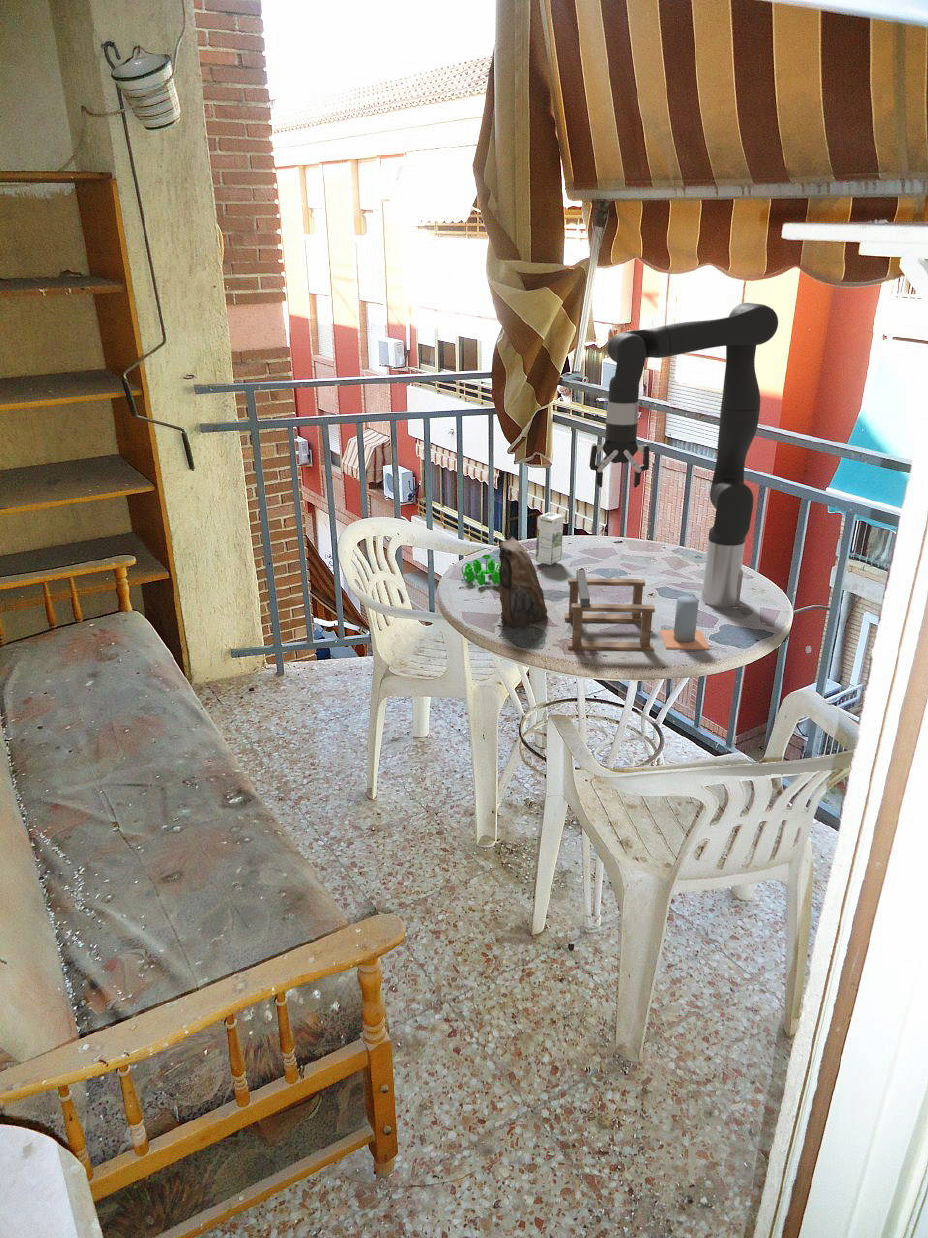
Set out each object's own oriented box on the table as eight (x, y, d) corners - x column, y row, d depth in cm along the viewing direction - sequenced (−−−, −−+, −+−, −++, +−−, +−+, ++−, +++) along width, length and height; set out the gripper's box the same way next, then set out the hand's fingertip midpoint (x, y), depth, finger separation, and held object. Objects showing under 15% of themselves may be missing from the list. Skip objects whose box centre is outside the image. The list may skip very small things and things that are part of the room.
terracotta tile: (700, 633, 209) (701, 630, 209) (708, 651, 200) (709, 647, 200) (659, 632, 210) (659, 629, 210) (665, 650, 201) (666, 647, 201)
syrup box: (546, 556, 263) (547, 511, 257) (562, 560, 260) (563, 514, 254) (535, 561, 259) (536, 515, 253) (551, 565, 256) (553, 519, 250)
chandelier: (495, 566, 256) (496, 544, 253) (522, 582, 244) (522, 559, 241) (451, 575, 249) (451, 552, 247) (476, 591, 237) (476, 568, 235)
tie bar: (584, 577, 215) (584, 570, 214) (589, 606, 197) (589, 598, 196) (576, 577, 215) (576, 569, 214) (580, 606, 197) (581, 598, 196)
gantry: (642, 618, 219) (646, 578, 214) (653, 651, 200) (657, 609, 196) (564, 616, 220) (566, 577, 216) (568, 649, 202) (570, 607, 197)
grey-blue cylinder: (692, 634, 207) (696, 596, 203) (696, 643, 202) (700, 604, 199) (671, 634, 207) (675, 595, 203) (675, 642, 203) (678, 603, 199)
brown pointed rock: (513, 631, 212) (514, 554, 204) (480, 615, 221) (480, 542, 213) (549, 618, 219) (552, 544, 211) (517, 604, 228) (518, 532, 220)
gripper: (649, 417, 207) (644, 483, 214) (590, 417, 208) (587, 482, 214) (654, 423, 200) (648, 490, 207) (593, 423, 201) (589, 490, 208)
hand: (617, 486), depth 211 cm, fingers open, 8 cm apart
